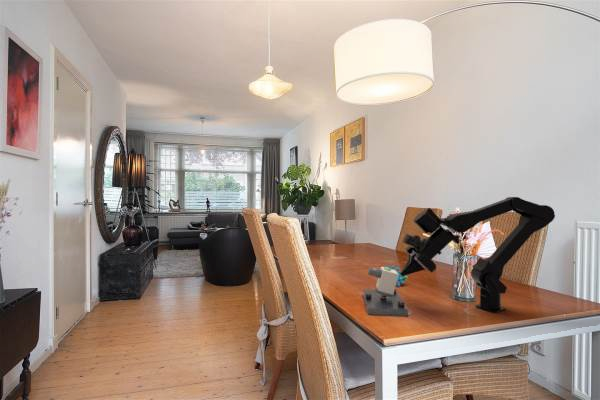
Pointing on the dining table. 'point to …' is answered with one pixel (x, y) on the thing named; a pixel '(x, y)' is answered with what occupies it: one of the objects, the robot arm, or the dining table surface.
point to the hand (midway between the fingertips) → (401, 275)
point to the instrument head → (384, 280)
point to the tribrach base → (384, 304)
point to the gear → (399, 276)
